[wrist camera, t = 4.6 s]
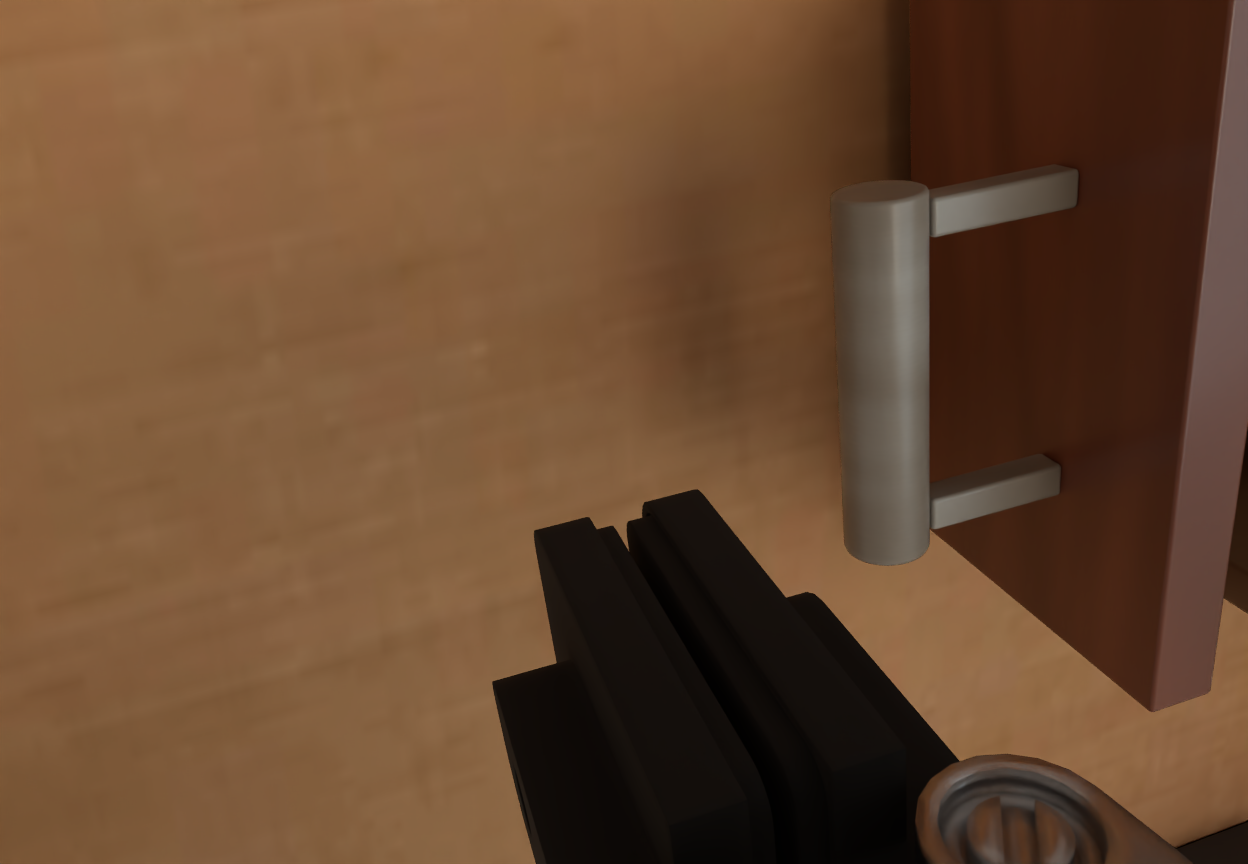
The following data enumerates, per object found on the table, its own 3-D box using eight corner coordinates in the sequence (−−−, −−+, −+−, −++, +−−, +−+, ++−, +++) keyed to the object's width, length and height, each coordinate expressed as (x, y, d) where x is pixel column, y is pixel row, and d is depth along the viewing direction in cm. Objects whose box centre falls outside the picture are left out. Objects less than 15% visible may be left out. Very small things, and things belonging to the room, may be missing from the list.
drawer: (752, 560, 23) (939, 787, 16) (704, -5, 18) (943, -3, 11) (1356, 393, 26) (1708, 524, 20) (1452, -117, 21) (1959, -165, 15)
